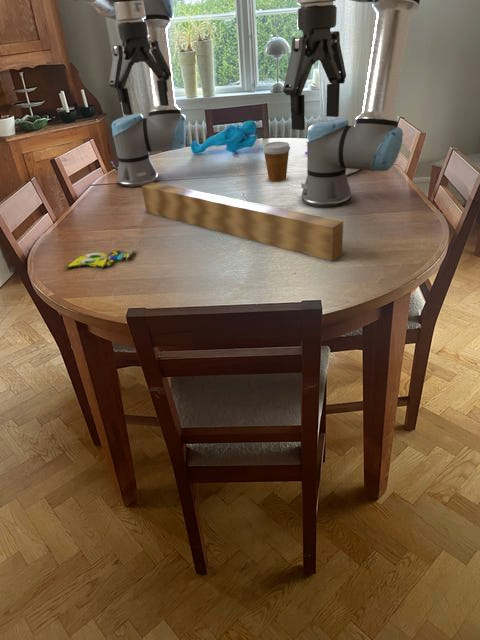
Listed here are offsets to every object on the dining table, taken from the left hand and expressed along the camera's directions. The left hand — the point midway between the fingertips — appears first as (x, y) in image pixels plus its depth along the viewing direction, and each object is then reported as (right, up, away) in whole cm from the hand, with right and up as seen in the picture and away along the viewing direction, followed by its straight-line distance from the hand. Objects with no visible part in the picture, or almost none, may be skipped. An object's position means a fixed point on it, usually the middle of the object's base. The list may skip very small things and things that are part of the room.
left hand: (146, 109), depth 135 cm
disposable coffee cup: (+40, -9, +37) cm, 55 cm away
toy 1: (-10, -44, -10) cm, 46 cm away
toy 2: (+20, +14, +76) cm, 80 cm away
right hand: (+43, -17, -32) cm, 56 cm away
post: (+24, -34, +1) cm, 41 cm away
